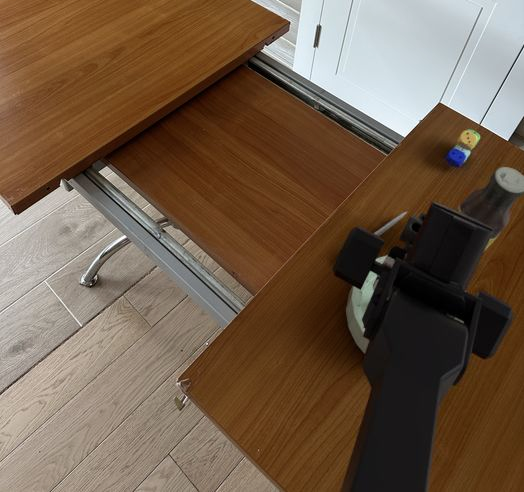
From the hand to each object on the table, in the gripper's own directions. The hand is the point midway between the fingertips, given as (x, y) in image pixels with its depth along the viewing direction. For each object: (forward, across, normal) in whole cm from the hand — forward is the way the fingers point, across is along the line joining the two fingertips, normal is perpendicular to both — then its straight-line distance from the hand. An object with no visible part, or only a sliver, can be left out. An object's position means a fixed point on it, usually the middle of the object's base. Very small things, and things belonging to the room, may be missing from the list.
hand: (420, 274), depth 65 cm
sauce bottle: (+15, -4, -2) cm, 16 cm away
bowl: (+6, -1, +8) cm, 10 cm away
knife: (+13, +7, +1) cm, 15 cm away
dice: (+30, +1, -16) cm, 34 cm away
